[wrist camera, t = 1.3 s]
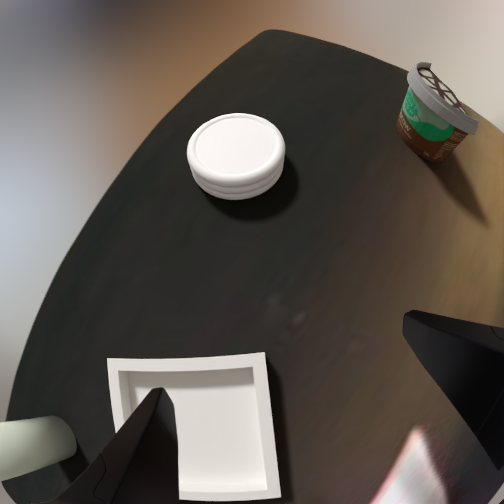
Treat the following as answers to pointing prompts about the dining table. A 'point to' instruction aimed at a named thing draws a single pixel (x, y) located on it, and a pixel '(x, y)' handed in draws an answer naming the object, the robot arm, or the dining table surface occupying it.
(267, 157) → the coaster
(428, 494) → the dining table surface
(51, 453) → the pale green rounded post
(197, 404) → the tray
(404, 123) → the food container
